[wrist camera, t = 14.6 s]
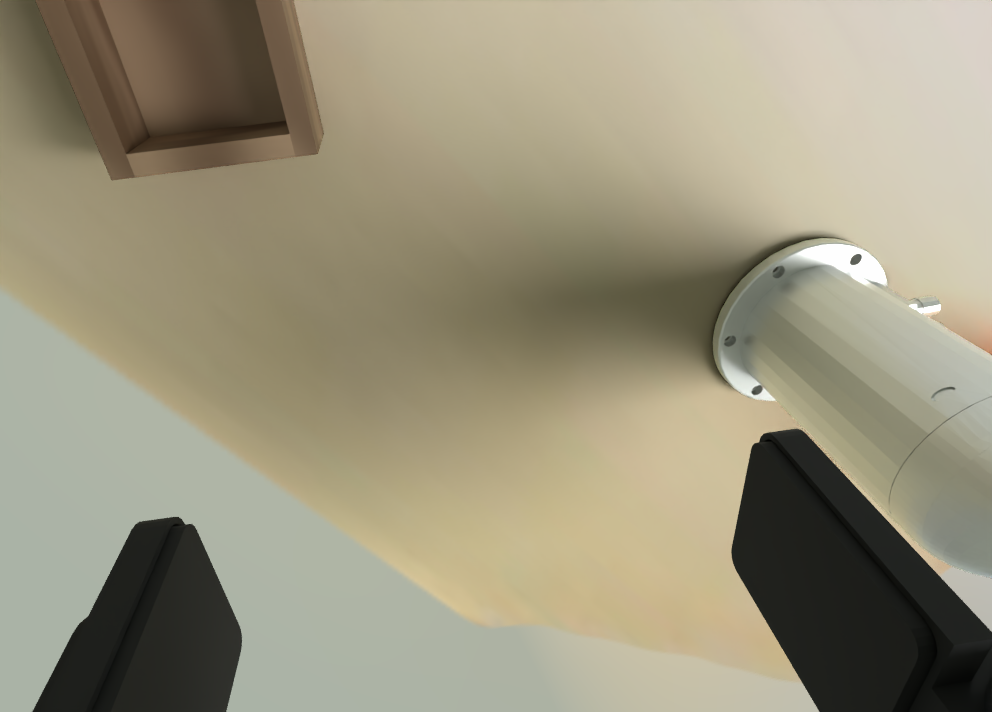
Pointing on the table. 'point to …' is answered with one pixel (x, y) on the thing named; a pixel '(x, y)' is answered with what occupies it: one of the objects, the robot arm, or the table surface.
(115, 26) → the rack
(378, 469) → the table surface
